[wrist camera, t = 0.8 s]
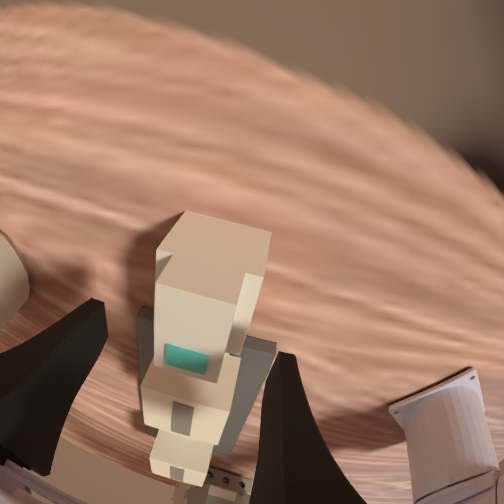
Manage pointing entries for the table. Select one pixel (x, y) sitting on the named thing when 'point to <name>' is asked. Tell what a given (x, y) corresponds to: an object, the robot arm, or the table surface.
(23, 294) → the can
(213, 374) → the block
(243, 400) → the rail plate
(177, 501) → the circuit breaker
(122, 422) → the table surface
